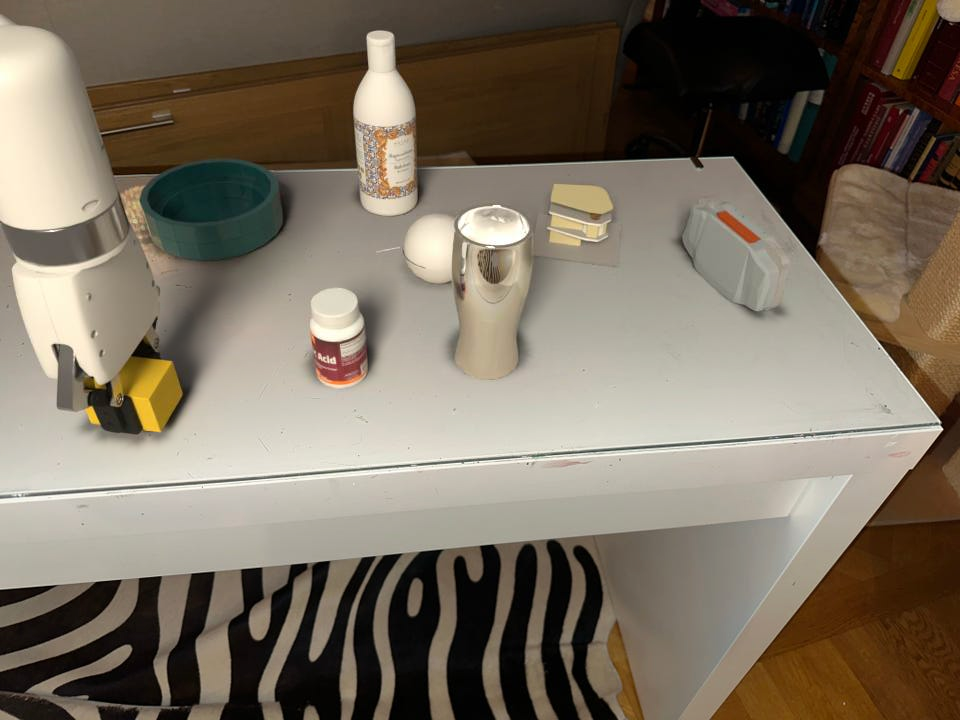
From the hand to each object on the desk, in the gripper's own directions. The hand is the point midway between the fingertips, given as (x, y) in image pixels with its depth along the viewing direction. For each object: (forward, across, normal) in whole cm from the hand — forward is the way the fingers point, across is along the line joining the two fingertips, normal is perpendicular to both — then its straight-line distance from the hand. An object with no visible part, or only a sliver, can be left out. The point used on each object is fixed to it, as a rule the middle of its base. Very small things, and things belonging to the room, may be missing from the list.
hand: (137, 405), depth 63 cm
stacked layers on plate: (+1, -34, +36) cm, 50 cm away
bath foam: (+2, -38, +13) cm, 41 cm away
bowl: (+2, -29, -5) cm, 30 cm away
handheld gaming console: (+1, -28, +52) cm, 60 cm away
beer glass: (+1, -12, +28) cm, 31 cm away
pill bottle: (+2, -8, +15) cm, 18 cm away
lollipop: (+2, -24, +20) cm, 32 cm away
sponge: (0, 0, 0) cm, 0 cm away
